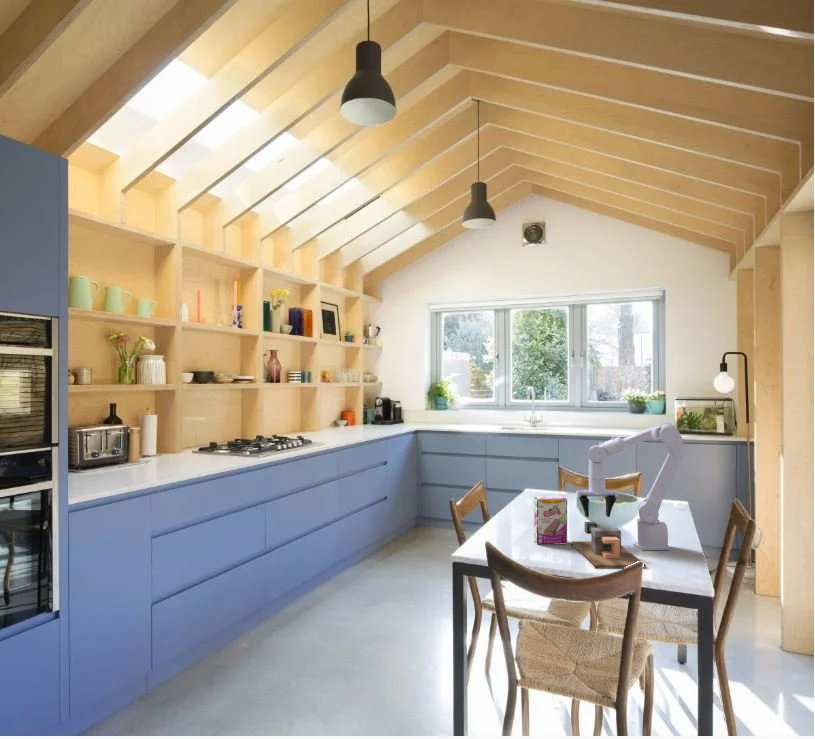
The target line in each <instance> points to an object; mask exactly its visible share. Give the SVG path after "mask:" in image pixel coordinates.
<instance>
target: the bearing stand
mask: <svg viewBox="0 0 815 739" xmlns="http://www.w3.org/2000/svg"><path fill="white" fill-rule="evenodd" d="M590 536H591V537H590V538H591V540H589V541H588V540H587V541H586V540H583V541H577V540H576V541H573V540H572V541H571V545H572V544H573V545H574V546H575V547H576V548H577V549H576V548H575V547H574V546H573V545H572V546H573V547H574V548H575V549H576V551H577V552H579V553H580V554H582V555H583V556H584V557H585V558H586V559H587V560H588V561H589V562H590V563H591V564H592V565H593V566H594V567H595V568H594V567H593V566H592V565H591V564H590V563H589V562H588V561H587V560H586V559H585V558H584V557H583V556H582V555H581V556H582V557H583V558H584V559H585V560H586V561H587V562H588V563H589V564H590V565H591V566H592V567H593V568H594V569H625V568H624V567H626V566H628V565H631V564H633V563H635V562H637V561H641V559H639V558H638V557H637V556H636V555H635V554H633V553H632V552H631V551H629V550H628V549H627V548H625V547H624V546H623V545H622V530H620V529H619V528H618V527H597V528H591V535H590ZM601 537H617V538H618V539H620V558H604V557H603V556H602V551H611V543H603V541H602V540H601ZM644 567H645V568H644V569H647V565H646V564H645V563H644Z"/></svg>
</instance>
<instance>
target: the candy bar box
mask: <svg viewBox="0 0 815 739" xmlns="http://www.w3.org/2000/svg"><path fill="white" fill-rule="evenodd" d="M533 540H534V542H535V544H536V543H537V544H536V545H555V544H554V543H567V544H568V498H566V497H564V496H534V497H533Z"/></svg>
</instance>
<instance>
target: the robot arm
mask: <svg viewBox="0 0 815 739" xmlns="http://www.w3.org/2000/svg"><path fill="white" fill-rule="evenodd" d="M659 439H660V441H662V443H663V444H665V448H666V449H667V451H668V453H667V456H666V458H665V460H664V462H663V464H662V466H661V468H660V471H659V472H658V474H657V476H656V478H655V480H654V482H653V484H652V487H651V488H650V490H649V492H648V493H647V495H646V496H645V499H643V500H642V501H641V502H640V503H639V504H638V518H637V522H636V523H637V542H635V541H633V545H635V546H636V547H637V548H638V549H640V550H641V551H668V550H670V548H669V531H668V530H669V529H668V527H667V526H668V525H667V524H666V523H665V522H664V521H660V520H659V515H660V513H659V511H660V508H661V506H662V502H663V500H664V498H665V496H666V494H667V492H668V490H669V487H670V485H671V483H672V482H673V479H674V478H675V475H676V473H677V472H678V469H679V467H680V466H681V463H682V461H683V459H684V457H685V455H686V454H685V453H686V452H685V448H684V443H683V437H682V434H681V433H680V431H679V430H678V429H677V427H676V426H675V425H673V424H672V423H668V422H667V423H663V424H660V425H654V426H651V427H648V428H646V429H644V430H641V431H639V432H636V433H634V434H632V435H629V436H627V437H624V438H622V437H621V436H620V437H619V436H611V437H610V439H609V440H607V441H604V442H602V441H600V442H598V445H597V444H596V445H595V444H594V445H592V446H591V447H590V448H589V450H588V452H587V457H588V489H583V490H582V489H581V490H576V492H575V494H576V495H575V496H576V497H577V498H578V499H579V501H580V503H581V505H582V509H583V512H584V516H585V517H586V518H589V516H590V514H589V512H590V510H589V505H590V499H589V498H588V497H604V500H605V516H606V517H607V518H610V516H611V512H612V509H613V506H614V504H615V503H616V500H617V497H619V491H618V490H616V489H615V490H612V489H611V490H610V489H606V466H605V458H606V459H609V458H613V457H615V456H617V455H620V454H623V453H625V452H626V451H627V448H628V447H631V446H633V445H637V444H640V443H643V442H645V441H648V440H650V441H651V440H652V441H656V442H658V441H659Z"/></svg>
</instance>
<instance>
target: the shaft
mask: <svg viewBox="0 0 815 739" xmlns="http://www.w3.org/2000/svg"><path fill="white" fill-rule="evenodd" d="M591 528H598V524H597V522H595V521H584V533H586V534H587V535H588V534H589V535H590V534H591ZM603 543H604V542H603Z"/></svg>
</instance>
